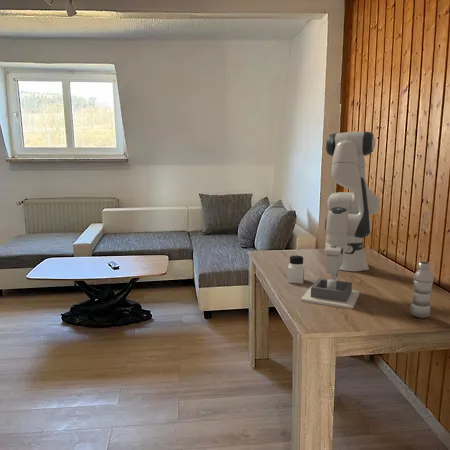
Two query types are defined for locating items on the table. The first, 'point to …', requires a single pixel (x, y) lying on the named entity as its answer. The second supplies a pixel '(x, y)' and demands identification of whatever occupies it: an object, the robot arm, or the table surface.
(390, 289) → the table surface
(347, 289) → the grey rectangular frame
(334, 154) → the robot arm
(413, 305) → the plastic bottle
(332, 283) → the post stand
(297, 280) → the medicine bottle
